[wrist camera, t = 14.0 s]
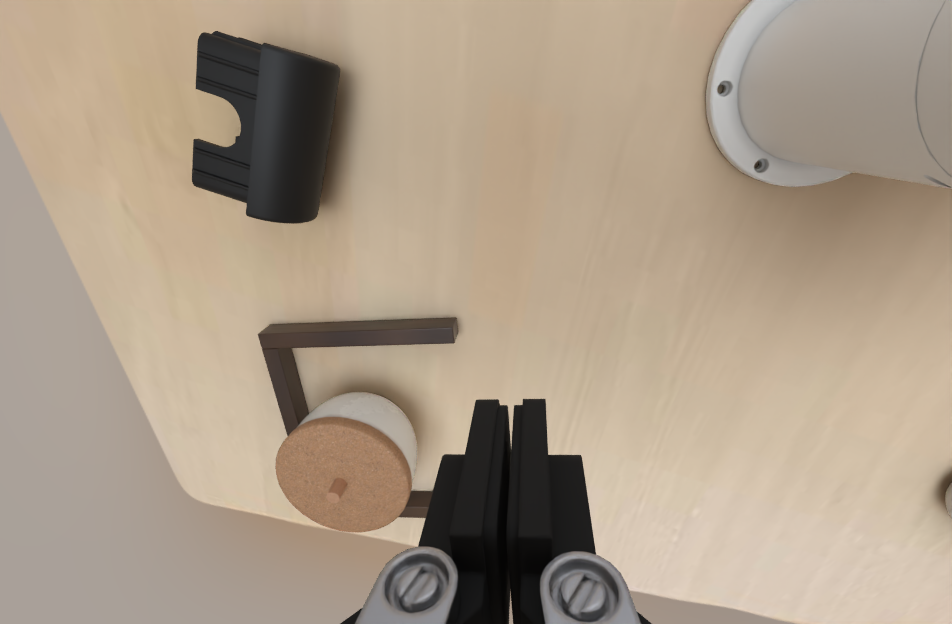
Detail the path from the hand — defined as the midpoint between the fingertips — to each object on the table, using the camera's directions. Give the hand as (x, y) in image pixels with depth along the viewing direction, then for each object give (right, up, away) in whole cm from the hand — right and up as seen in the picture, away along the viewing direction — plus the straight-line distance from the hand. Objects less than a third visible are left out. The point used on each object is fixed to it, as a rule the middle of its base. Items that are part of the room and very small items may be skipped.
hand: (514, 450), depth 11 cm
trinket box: (-10, -7, +32) cm, 34 cm away
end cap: (-14, +17, +22) cm, 31 cm away
